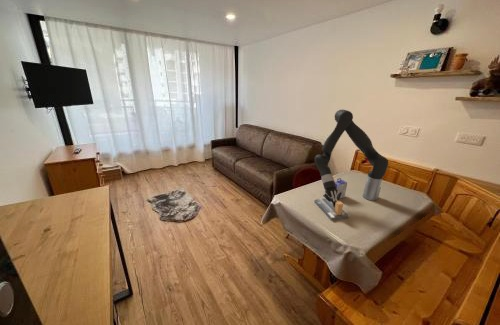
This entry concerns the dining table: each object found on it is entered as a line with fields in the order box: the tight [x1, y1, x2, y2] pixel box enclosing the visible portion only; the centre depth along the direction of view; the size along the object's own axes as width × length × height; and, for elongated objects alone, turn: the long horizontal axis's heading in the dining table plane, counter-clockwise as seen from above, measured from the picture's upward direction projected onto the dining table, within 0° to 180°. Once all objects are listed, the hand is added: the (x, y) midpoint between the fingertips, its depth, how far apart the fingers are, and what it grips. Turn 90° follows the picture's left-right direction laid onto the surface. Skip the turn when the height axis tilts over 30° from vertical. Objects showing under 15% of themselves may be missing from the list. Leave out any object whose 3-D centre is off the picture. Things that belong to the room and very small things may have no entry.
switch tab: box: [334, 200, 344, 215], centre depth 127 cm, size 3×3×8 cm
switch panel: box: [314, 197, 349, 221], centre depth 136 cm, size 12×21×4 cm, turn 12°
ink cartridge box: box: [335, 177, 348, 199], centre depth 149 cm, size 10×6×14 cm, turn 113°
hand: (336, 207), depth 129 cm, fingers closed
